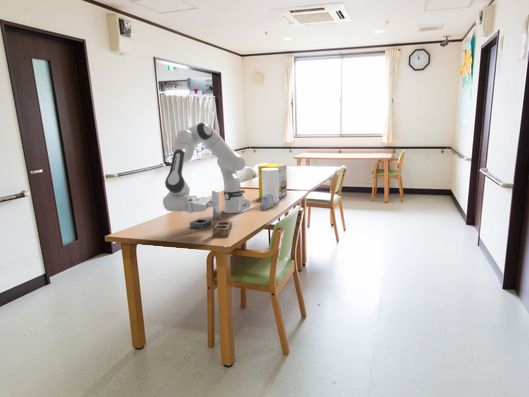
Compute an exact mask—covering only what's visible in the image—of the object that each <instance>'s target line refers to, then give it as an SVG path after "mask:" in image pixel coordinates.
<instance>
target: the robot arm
mask: <svg viewBox="0 0 529 397" xmlns="http://www.w3.org/2000/svg"><path fill="white" fill-rule="evenodd" d="M201 143H203V144H204V146H206V148H207V149H208V150H209V151H210V152H211V153H212V155H213V156H214V157H216V158H217V160H216V161H217V162H216V163H217V164H216V165H217V166H218V167H219V168H220V169H219V170H220V171H221V175H222V179H223V187H224V188H223V190H224V191H223V208H222V211H223V212H224V213H226V214H238V213H241V214H242V213H246V212H248V211H250V210H252V208H253V209H254V206H253V205H251V200H250V199H249V198H247V197H246V196H245V195H244V194H245V193H246V190H245V189H241V178H240V176H239V175H238V173H237V172H239V171H243V170H244V169H245V167H246V165H247V164H246V159H245V158H244V156H242V155H240V154H239V153H238V152H236V151H235V150H234V149H233V148H232V147H231V146H230V145H229V144H227V142H226V141H225V140H224V138H222V136H221V135H220V133H218V132H217V130H215V129H214V128H213V127H212V126H211V125H210V124H208V122H199V123H197V124H194V125H192V126H191V127H189V128H187V129H181V130H179V131H178V132H177V134H176V138H175V142H174V149H173V153H172V154H173V155H172V159H171V164H170V169H169V173H168V175H167V176H166V178H165V181H164V186H165V187H166V189H167V191H169V192H168V193H167V195H165V196H164V197H163V199H162V205H163V207H164V209H165V210H166V211H168V212H174V213H175V212H177V213H179V212H187V213H188V214H193V213H199V212H200V213H201V212H205V211H206V210H208V208H213V207H216V206H217V203H212V196H203V197H202V196H201V197H197V195H190V190H191V189H190V186H189V184H188V183H187V182H186V180H185V179H184V177H183V169H184V168H183V167H184V163H186V162H189V161H191V160H192V158H193V156H194V151H195V150H194V149H195V148H194V146H196V145H200V144H201Z"/></svg>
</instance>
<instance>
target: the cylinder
mask: <svg viewBox="0 0 529 397" xmlns="http://www.w3.org/2000/svg"><path fill="white" fill-rule="evenodd" d="M265 195H273V203H276V204H279V203H280V198H279V171H278V168H264V169H262V196H265ZM278 202H279V203H278Z"/></svg>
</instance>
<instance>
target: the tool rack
mask: <svg viewBox="0 0 529 397" xmlns="http://www.w3.org/2000/svg"><path fill="white" fill-rule="evenodd" d="M232 227H233V225H232V221H217V222H216V224H215V225H214V227H213V231H212V232H213V237H229V235H230V233H231V231H232V229H233V228H232Z"/></svg>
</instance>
